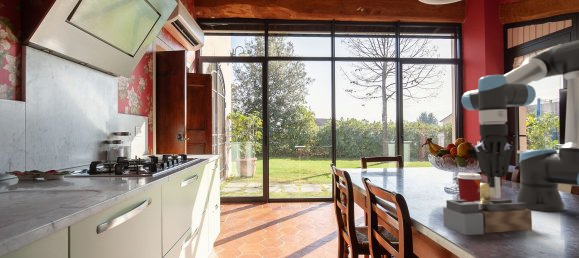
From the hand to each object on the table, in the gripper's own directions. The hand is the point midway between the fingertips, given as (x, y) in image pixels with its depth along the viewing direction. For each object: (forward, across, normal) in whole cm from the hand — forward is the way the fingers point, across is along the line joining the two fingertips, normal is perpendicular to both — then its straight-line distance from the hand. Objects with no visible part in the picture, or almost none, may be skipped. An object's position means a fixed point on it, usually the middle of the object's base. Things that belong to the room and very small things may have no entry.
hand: (495, 197), depth 96 cm
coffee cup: (+10, +4, +16) cm, 19 cm away
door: (+10, +1, 0) cm, 10 cm away
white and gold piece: (+3, -6, 0) cm, 7 cm away
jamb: (+10, -12, 0) cm, 15 cm away
